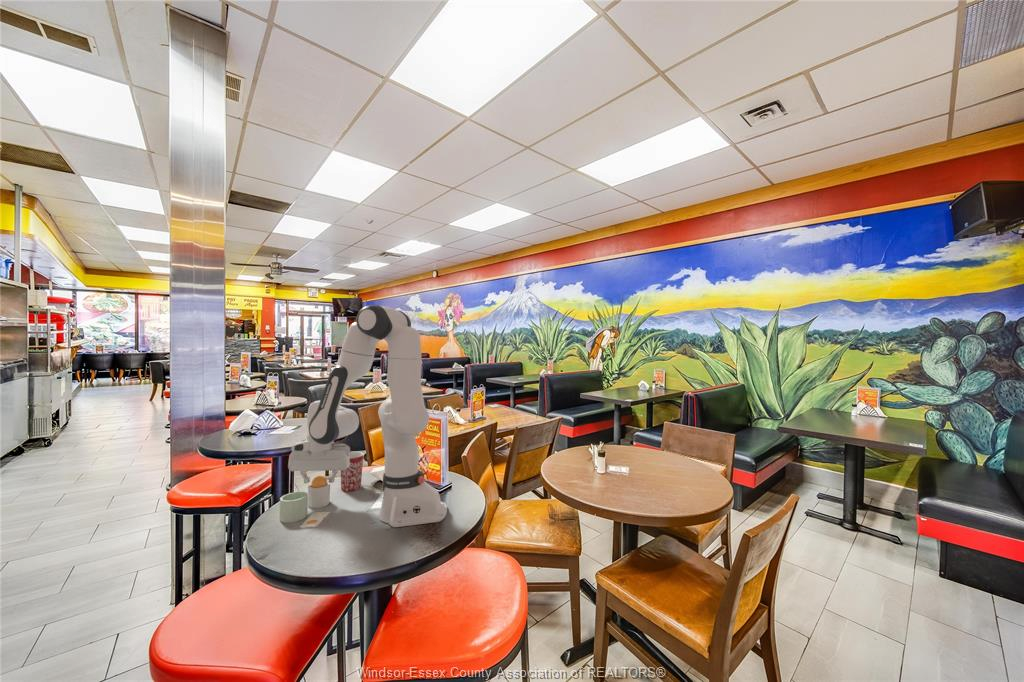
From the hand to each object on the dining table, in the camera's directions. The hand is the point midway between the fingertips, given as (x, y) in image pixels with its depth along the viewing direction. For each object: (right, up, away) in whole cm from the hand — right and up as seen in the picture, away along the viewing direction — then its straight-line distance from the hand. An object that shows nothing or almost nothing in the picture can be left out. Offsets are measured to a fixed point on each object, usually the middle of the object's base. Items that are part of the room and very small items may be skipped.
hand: (319, 482), depth 133 cm
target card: (+5, -7, -13) cm, 16 cm away
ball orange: (0, -3, 0) cm, 3 cm away
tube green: (-3, -7, -11) cm, 13 cm away
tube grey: (0, -8, 0) cm, 8 cm away
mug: (+5, -8, +16) cm, 19 cm away
